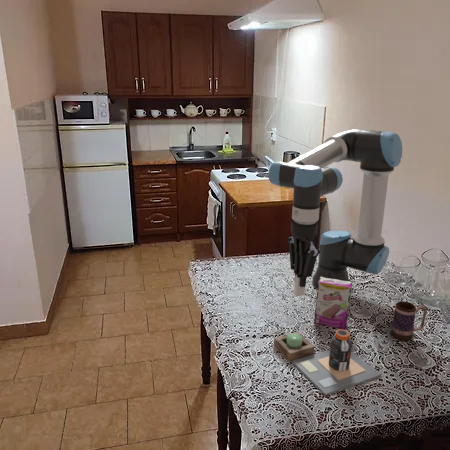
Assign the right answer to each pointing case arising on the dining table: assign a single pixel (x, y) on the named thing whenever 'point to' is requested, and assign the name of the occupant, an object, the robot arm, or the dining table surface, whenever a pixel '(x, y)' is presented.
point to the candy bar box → (332, 302)
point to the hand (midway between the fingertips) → (299, 294)
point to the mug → (405, 321)
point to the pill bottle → (340, 351)
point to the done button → (294, 341)
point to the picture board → (334, 372)
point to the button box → (295, 353)
